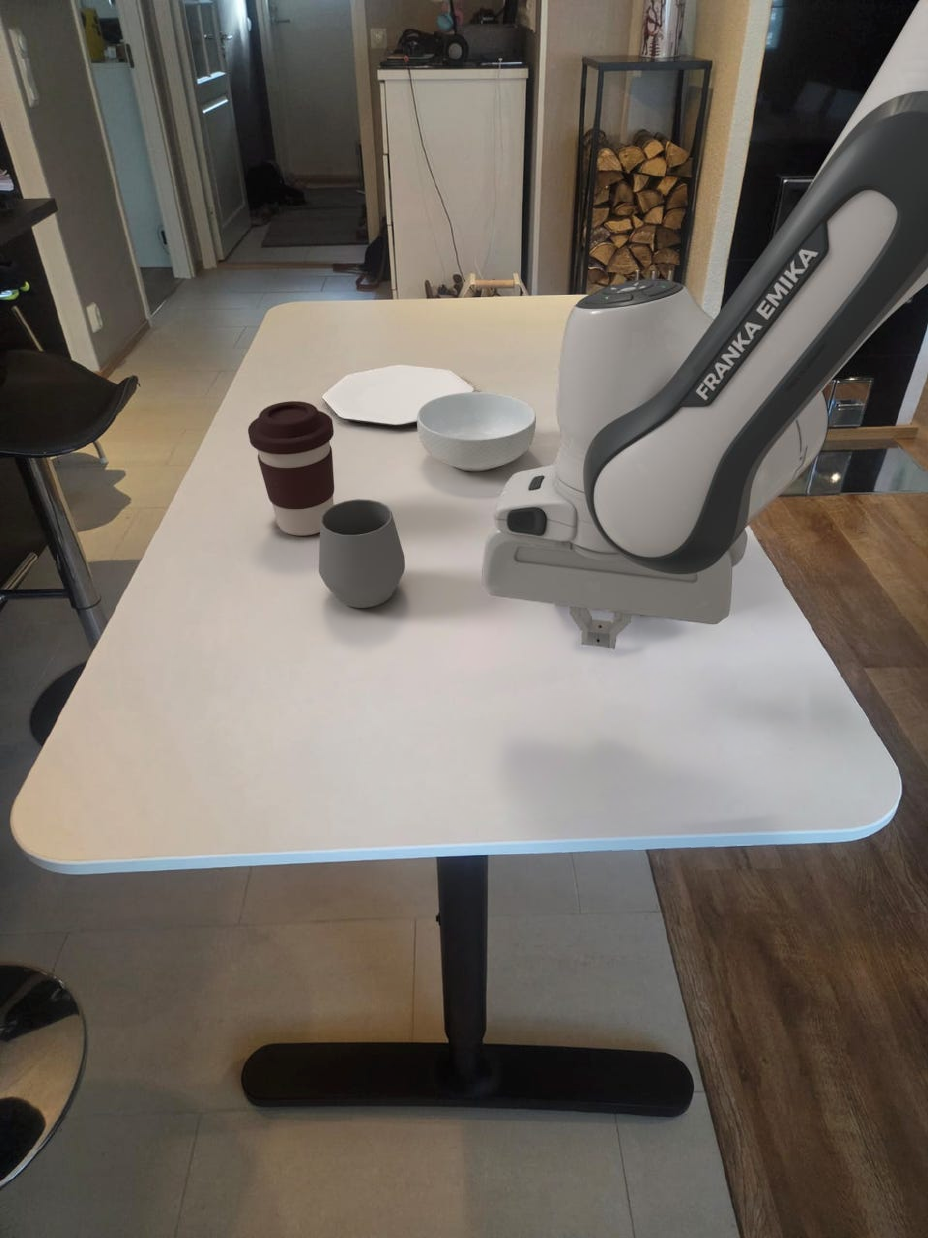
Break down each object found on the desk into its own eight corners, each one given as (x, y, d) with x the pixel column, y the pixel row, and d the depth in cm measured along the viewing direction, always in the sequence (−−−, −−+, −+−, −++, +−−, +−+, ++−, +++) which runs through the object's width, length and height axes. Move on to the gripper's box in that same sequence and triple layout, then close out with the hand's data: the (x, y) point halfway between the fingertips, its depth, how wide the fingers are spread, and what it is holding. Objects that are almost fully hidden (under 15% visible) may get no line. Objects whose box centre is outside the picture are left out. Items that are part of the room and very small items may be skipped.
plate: (494, 411, 129) (494, 402, 128) (356, 442, 121) (355, 433, 120) (434, 365, 146) (433, 357, 145) (309, 390, 138) (308, 381, 137)
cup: (408, 616, 87) (402, 537, 80) (321, 622, 86) (308, 543, 80) (405, 567, 94) (399, 492, 88) (326, 573, 94) (314, 497, 87)
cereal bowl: (547, 480, 110) (549, 432, 106) (428, 493, 108) (425, 444, 104) (519, 429, 123) (520, 384, 119) (412, 439, 121) (409, 394, 117)
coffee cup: (270, 506, 106) (249, 398, 97) (345, 500, 107) (331, 392, 98) (264, 546, 98) (241, 432, 89) (345, 539, 99) (330, 426, 90)
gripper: (751, 496, 61) (723, 636, 70) (493, 472, 66) (495, 606, 75) (752, 539, 57) (721, 684, 65) (473, 510, 61) (478, 648, 70)
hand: (599, 642), depth 70 cm, fingers closed
